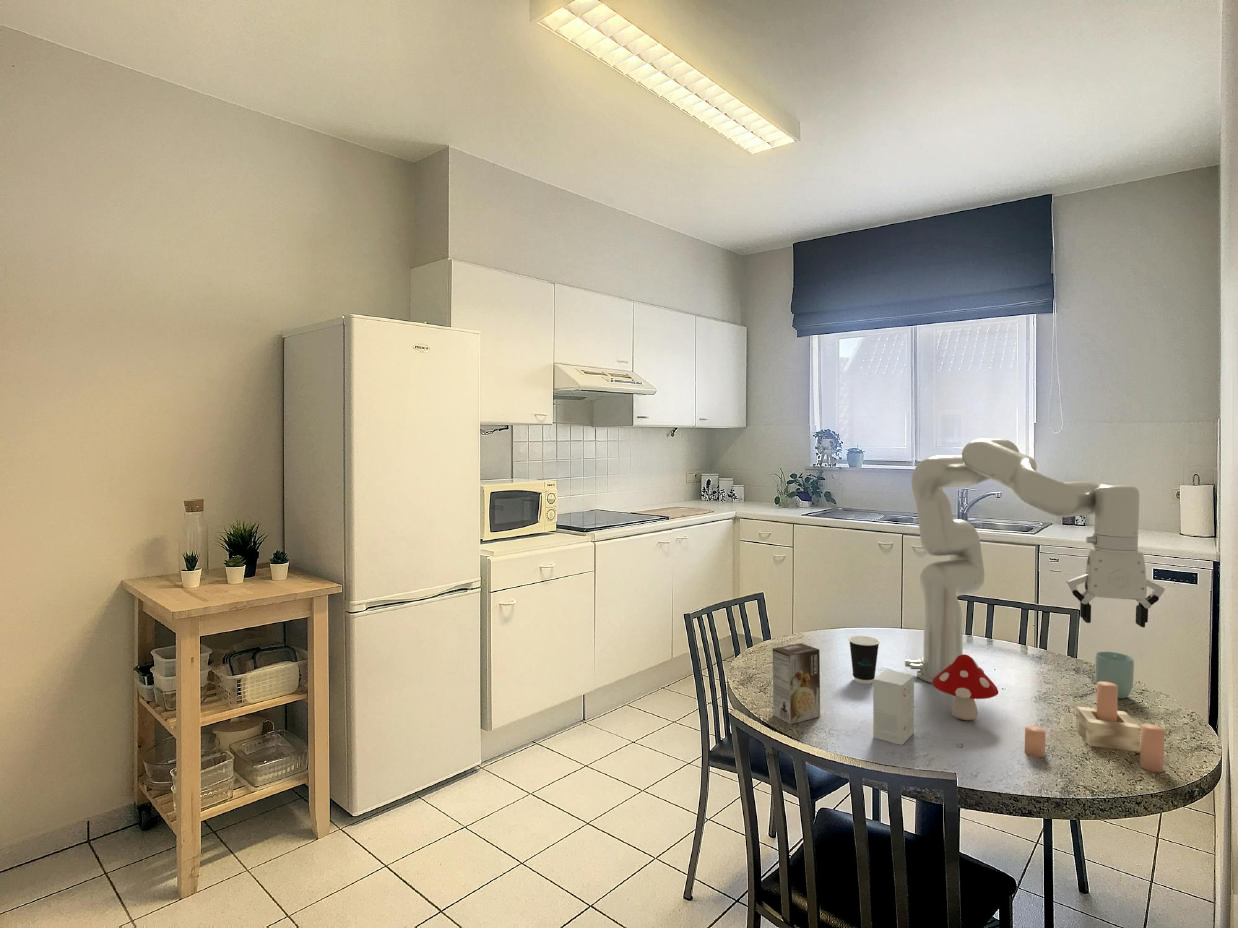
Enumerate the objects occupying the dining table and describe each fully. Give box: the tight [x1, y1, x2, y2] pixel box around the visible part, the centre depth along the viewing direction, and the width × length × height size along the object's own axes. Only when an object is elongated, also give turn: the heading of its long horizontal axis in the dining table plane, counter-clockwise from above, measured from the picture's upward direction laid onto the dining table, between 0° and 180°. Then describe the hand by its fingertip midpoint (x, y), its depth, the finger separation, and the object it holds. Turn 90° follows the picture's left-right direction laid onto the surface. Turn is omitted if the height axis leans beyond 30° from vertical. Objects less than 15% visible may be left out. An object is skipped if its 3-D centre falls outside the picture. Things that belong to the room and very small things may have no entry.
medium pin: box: [1139, 723, 1166, 773], centre depth 135 cm, size 4×4×8 cm
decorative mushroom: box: [931, 654, 999, 721], centre depth 159 cm, size 14×14×15 cm
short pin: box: [1024, 725, 1046, 759], centre depth 142 cm, size 4×4×5 cm
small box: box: [872, 669, 915, 746], centre depth 150 cm, size 8×6×13 cm
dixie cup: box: [848, 635, 881, 685], centre depth 184 cm, size 8×8×11 cm
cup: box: [1094, 651, 1135, 699], centre depth 172 cm, size 8×8×10 cm
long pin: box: [1096, 682, 1119, 722], centre depth 147 cm, size 4×4×12 cm
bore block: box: [1075, 706, 1141, 753], centre depth 148 cm, size 9×9×5 cm
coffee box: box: [772, 642, 821, 725], centre depth 161 cm, size 9×6×16 cm
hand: (1113, 623), depth 146 cm, fingers open, 9 cm apart
